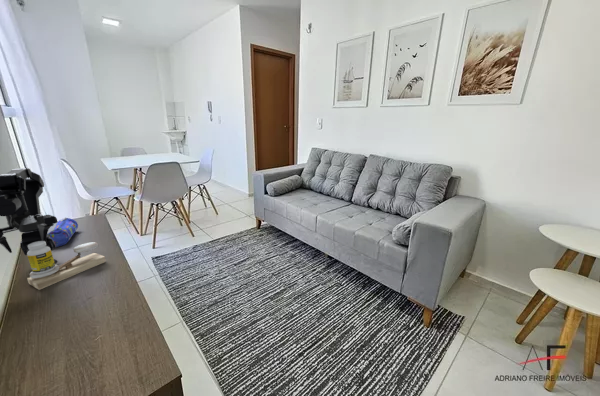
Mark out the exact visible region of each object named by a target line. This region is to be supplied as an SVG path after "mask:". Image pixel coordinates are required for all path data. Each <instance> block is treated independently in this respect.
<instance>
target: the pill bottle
mask: <svg viewBox="0 0 600 396" xmlns="http://www.w3.org/2000/svg"><path fill="white" fill-rule="evenodd" d="M28 249H29V251H28V252H27V255H26V256H27V259H28V262H29V265H30V269H31V272H33V273H34V274H42V273H46V272H49V271H51V270H53V269H54V268H55V265H56V262H54V259H55V258H54V255H53V252H52V250H51V249H50V247H48V246H46V242H45V241H38V242H34V243H31V244H29V245H28Z"/></svg>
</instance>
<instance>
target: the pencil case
mask: <svg viewBox="0 0 600 396" xmlns="http://www.w3.org/2000/svg"><path fill="white" fill-rule="evenodd" d="M57 221H58V222H57V223H56V225H55V227H54V229H52V230H50V232H49V231H48V232H47V234H48V235H49V236H50V237H51V239H52V240H53V241H54V243H55V245H56V248H58V247H61V246H65V245H66V244H68V242H69V241H70V239H71V238H72V236H73V235H74V234H75V233H76V231H77V229H78V228H79V224H78V222H77V221H76V220H75V219H74V218H69V217H64V218H62V219H59V220H57Z"/></svg>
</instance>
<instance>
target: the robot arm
mask: <svg viewBox="0 0 600 396" xmlns="http://www.w3.org/2000/svg"><path fill="white" fill-rule="evenodd" d="M44 187H45V182H44V180H43V178H42V176H41V175H40V174H39V173H36V172H34V171H32V170H31V168H27V167H21V168H19V167H18V168H12V169H10V170H9V171H8V172H6V173H4V174H3V173H2V174H0V217H5V218H6V221H7V223H6V224H7V225H8V226H5V227H2V228H0V245H1V246H2V247H3V248H4V249H5V250H6V251H7V252H8V253H10V254H12V253H13V251H12V248H11V246H10V245H9V242H8V241H7V237H6V236H4V234H6V233H10V232H14V231H19V232H20V233H21V241H20V248H21V250H22V253H23V254H24V256H27V252H28V251H29V249H28V245H29V244H31V243H34V242H38V241H45V242H46V246H48V247H50V249H51V251H53V250H54V249H56V248H57V247H56V245H55V243H54V241H53V240H52V239H51V237H50V236H49V235H48V233H49V229H50V228H51V227H54V226H55V224H57V223H58V221H59V220H58V218H57V217H56V216H55V215H51V214H44V215H43V214H42V212H41V205H40V197H41V195H42V194H43V193H44ZM53 259H54V263H57V262H58V260H57V259H56V258H53Z"/></svg>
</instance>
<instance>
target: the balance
mask: <svg viewBox="0 0 600 396" xmlns="http://www.w3.org/2000/svg"><path fill="white" fill-rule="evenodd" d="M98 247H99V243H98V242H94V241H93V242H92V241H91V242H84V243H81V244H79V245H76V246H74V248H72V249H73V252H74V253H76V254H77V255H75V256H74V257H72V258H70V259H69V260H67V261H65V262H64V263H62V264H60V265H59V264H55V268H54V269H53V270H51V271H49V272H46V273H42V274H34V273H33V272H32V271H31V272H30V273H29V277H27V282H28V284H29V285H30V286H31V287H33V288H35V289H37V290H39V291H40V290H43V289H44V288H47V287H49V286H52V285H54V284H56V283H59V282H60V281H64V280H66V279H68V278H71V277H73V276H75V275H78V274H80V273H82V272H85V271H88V270H89V269H92V268H94V267H97V266H99V265H102V264H104V263H106V262H107V260H106V256H104V255H101V254H100V253H96V252H93V253H90V254H87V255H84V256H82V257H81V255H82V254H81V253H86V252H87V253H88V252H91V251H93V250H95V249H97V248H98Z"/></svg>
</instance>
